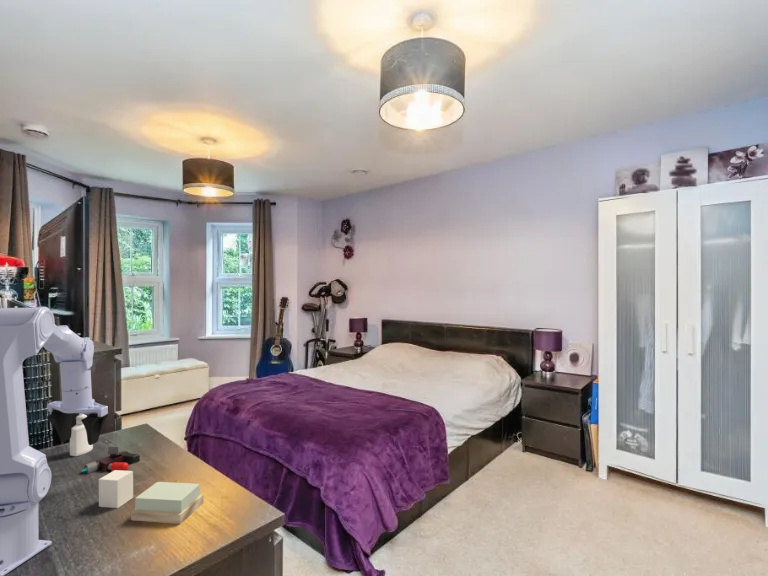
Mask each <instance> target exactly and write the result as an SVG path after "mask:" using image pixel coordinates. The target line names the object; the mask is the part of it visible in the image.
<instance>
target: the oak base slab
mask: <svg viewBox="0 0 768 576" xmlns="http://www.w3.org/2000/svg"><path fill="white" fill-rule="evenodd" d="M203 504H204V494H200V496H199V497H198V498H197V499H196V500H194V501H193V502H192V503H191V504H190V505H189V506H188V507H187V508H186V509H185V510H184V511H183V512H182V513H176V512H158V511H141V510H135V508H133V509H132V510H131V511H130V520H131V521H138V522H139V521H140V522H149V523H161V524H162V523H163V524H174V525H175V524H177V525H181V524H183V523H184V522H185V521H186V520H187V519H188V518H189V517H190V516H192V515H193V513H194V512H195V511H197V510H198V509H199V508H200V507H201V506H202V505H203Z"/></svg>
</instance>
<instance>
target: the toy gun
mask: <svg viewBox="0 0 768 576" xmlns="http://www.w3.org/2000/svg"><path fill="white" fill-rule="evenodd" d="M107 455H108V456H105V457H102V458H99V459H96V461H92V462H90V463H86V464H84V465H83V469H82V470H81V472H83V473H87V474H91V473H94V472H96V471H98V470H101V471H102V472H106V473H107V472H109V471H111V472H113V471H114V470H122V471H128V469H129V465H130V464H131V465H132V464H133V465H134V464H135V463H138V462H140V459H141V458H140V457H141V456H140V454H138V453H130V452H128V451H126V450H123V451H120V446H119V445H108V446H107Z"/></svg>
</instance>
